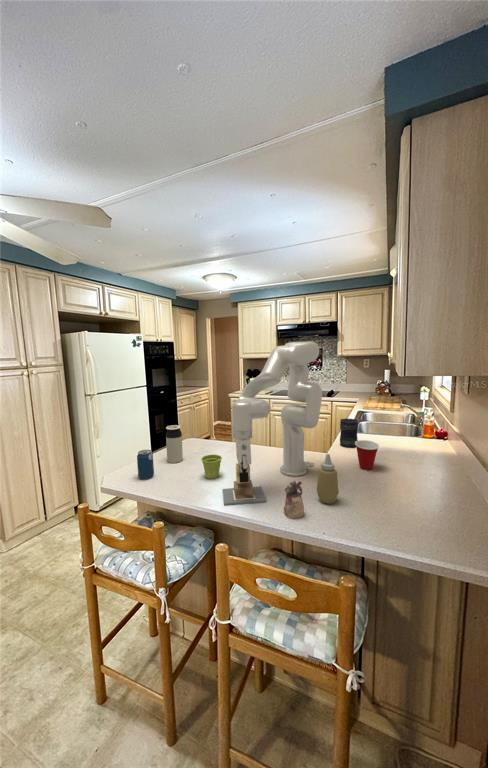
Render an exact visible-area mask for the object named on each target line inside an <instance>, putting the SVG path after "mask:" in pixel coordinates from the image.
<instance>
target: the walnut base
mask: <svg viewBox="0 0 488 768" xmlns="http://www.w3.org/2000/svg"><path fill="white" fill-rule="evenodd" d="M253 487H254V485H253V482H252V479H250V483H238V484H237V480H234V481H233V488H234V494H235V499H243V498H254V488H253Z"/></svg>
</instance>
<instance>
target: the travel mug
mask: <svg viewBox="0 0 488 768" xmlns="http://www.w3.org/2000/svg"><path fill="white" fill-rule="evenodd" d="M181 428H182V426H181V425H177V424H174V425H173V424H172V425H167V426H166V427H165V429H166V433H165V439H166V440H165V442H166V443H165V444H166V445H165V447H166V462H168V463H171V464H177V463H180V462H182V461H183V460H184V457H183V434H182V433H183V432H182V431H181Z"/></svg>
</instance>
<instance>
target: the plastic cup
mask: <svg viewBox="0 0 488 768" xmlns="http://www.w3.org/2000/svg"><path fill="white" fill-rule="evenodd" d="M355 445H356V448H355V449H356V453H357V459H358V465H359V468H360V469H362V470H365V471H371V470H373V468H374V464H375V460H376V457H377V453H378V449H379V448H380V444H379V443H377V442H375V441H372V440H367V439H366V440H365V439H364V440H363V439H360V440H358V441H356V442H355Z"/></svg>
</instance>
